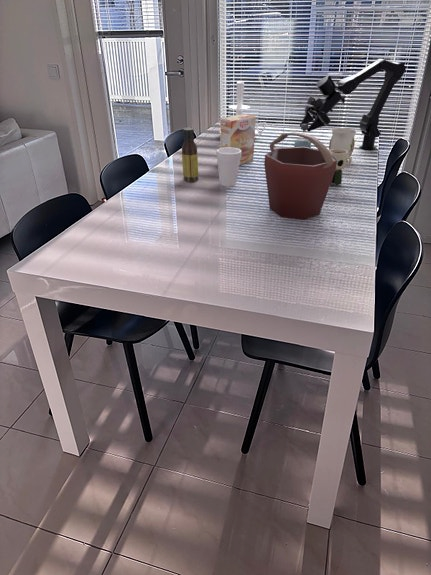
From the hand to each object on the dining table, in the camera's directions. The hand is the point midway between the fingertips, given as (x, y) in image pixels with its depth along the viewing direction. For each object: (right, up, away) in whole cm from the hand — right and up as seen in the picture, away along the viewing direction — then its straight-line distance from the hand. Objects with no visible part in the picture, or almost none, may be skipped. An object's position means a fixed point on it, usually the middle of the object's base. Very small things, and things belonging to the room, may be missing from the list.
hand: (303, 128), depth 204 cm
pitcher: (+16, -16, -5) cm, 23 cm away
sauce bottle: (-52, -32, -30) cm, 68 cm away
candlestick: (-28, +5, +28) cm, 39 cm away
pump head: (0, -1, +1) cm, 1 cm away
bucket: (-14, -48, -55) cm, 75 cm away
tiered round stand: (0, -9, +6) cm, 11 cm away
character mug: (+5, -34, -33) cm, 48 cm away
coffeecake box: (-32, -19, -10) cm, 39 cm away
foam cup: (-37, -35, -34) cm, 61 cm away
